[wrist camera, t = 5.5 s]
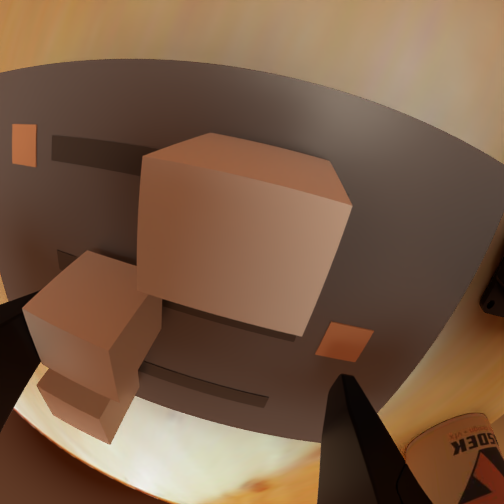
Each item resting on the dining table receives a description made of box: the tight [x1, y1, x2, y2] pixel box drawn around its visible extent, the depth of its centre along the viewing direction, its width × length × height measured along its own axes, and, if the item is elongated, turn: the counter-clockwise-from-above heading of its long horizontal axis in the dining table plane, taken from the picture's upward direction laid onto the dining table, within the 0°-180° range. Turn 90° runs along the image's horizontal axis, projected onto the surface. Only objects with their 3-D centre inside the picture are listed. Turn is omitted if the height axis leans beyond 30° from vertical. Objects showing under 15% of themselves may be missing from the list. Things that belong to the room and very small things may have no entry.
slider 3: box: [137, 133, 352, 337], centre depth 6 cm, size 3×2×4 cm
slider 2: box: [37, 368, 140, 444], centre depth 11 cm, size 3×2×4 cm
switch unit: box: [0, 59, 504, 443], centre depth 11 cm, size 20×15×3 cm
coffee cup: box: [406, 413, 504, 504], centre depth 12 cm, size 9×9×12 cm
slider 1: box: [22, 250, 162, 403], centre depth 8 cm, size 3×2×4 cm
